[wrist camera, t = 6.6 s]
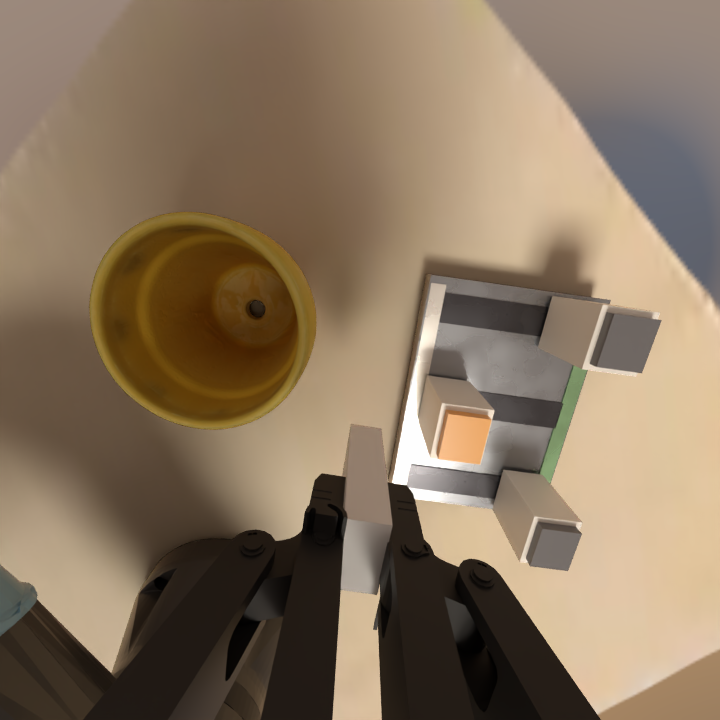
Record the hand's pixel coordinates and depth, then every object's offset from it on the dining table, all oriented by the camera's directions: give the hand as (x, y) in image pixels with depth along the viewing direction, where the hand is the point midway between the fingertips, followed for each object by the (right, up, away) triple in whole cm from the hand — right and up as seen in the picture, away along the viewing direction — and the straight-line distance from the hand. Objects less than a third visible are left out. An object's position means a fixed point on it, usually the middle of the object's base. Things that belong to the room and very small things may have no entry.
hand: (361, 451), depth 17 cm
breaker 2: (+12, -6, +9) cm, 16 cm away
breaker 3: (+14, +7, +6) cm, 16 cm away
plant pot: (-7, +9, +8) cm, 14 cm away
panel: (+9, +2, +10) cm, 14 cm away
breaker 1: (+6, +2, +8) cm, 10 cm away
